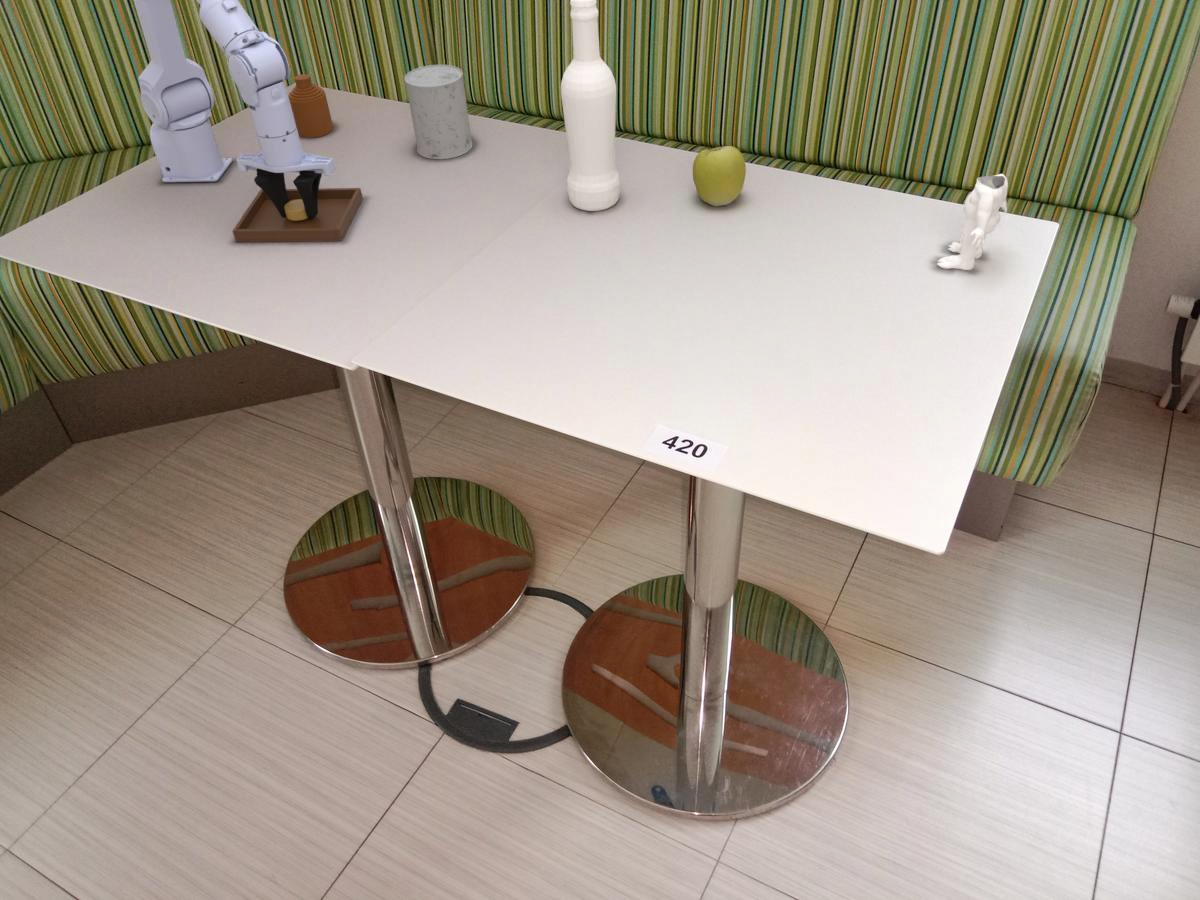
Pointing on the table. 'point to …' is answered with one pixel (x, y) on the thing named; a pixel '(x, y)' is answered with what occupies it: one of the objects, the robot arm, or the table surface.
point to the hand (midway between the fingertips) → (300, 215)
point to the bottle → (589, 115)
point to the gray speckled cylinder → (439, 111)
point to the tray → (326, 226)
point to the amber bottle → (310, 108)
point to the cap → (295, 210)
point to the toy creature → (978, 221)
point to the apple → (719, 175)
